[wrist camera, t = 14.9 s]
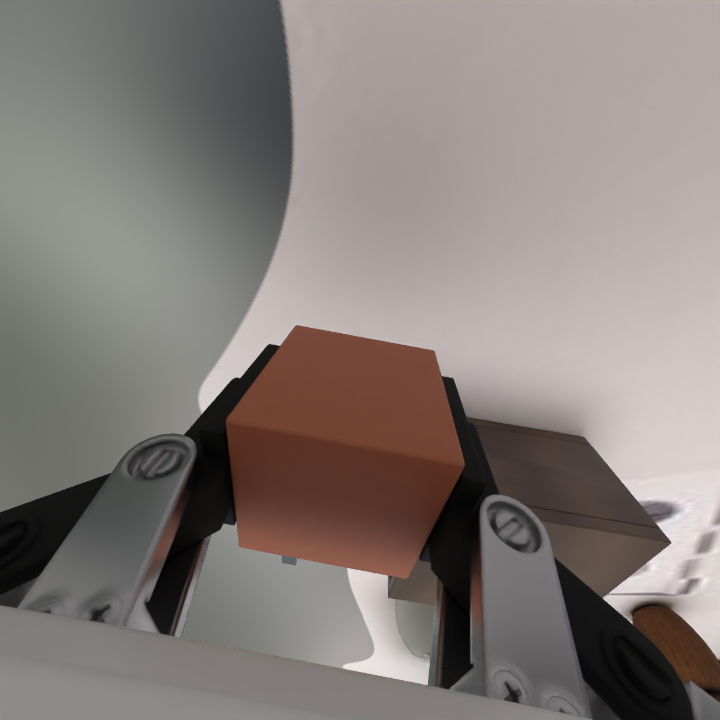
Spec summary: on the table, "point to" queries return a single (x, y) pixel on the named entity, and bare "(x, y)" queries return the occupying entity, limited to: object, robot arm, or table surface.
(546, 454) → the cabinet
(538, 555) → the robot arm
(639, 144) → the table surface
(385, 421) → the block
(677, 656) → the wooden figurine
